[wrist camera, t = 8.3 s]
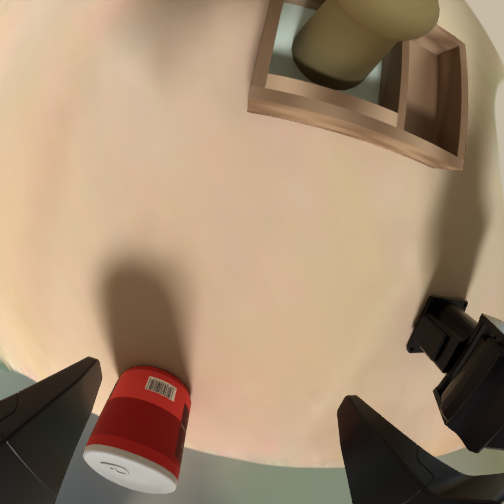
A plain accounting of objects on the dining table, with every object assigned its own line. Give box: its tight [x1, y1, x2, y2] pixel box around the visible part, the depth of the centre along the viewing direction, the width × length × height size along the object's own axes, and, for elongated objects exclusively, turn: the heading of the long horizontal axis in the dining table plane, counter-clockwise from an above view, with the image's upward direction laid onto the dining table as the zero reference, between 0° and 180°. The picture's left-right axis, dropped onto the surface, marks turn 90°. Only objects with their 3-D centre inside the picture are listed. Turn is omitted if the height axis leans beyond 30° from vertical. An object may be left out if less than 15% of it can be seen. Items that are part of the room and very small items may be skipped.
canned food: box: [83, 366, 191, 494], centre depth 19 cm, size 8×8×11 cm
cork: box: [291, 0, 439, 90], centre depth 10 cm, size 6×6×11 cm
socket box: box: [247, 0, 468, 171], centre depth 15 cm, size 16×12×4 cm
